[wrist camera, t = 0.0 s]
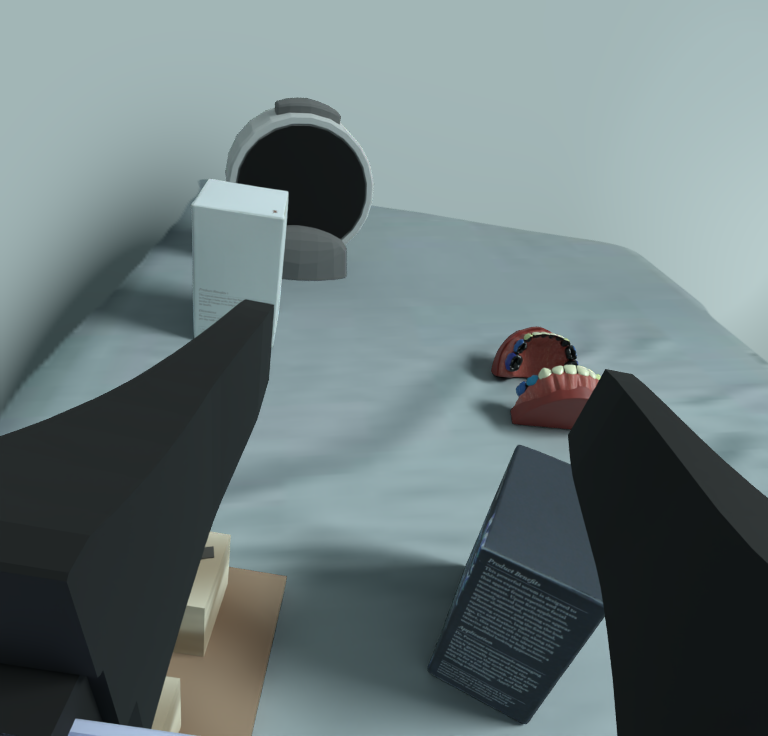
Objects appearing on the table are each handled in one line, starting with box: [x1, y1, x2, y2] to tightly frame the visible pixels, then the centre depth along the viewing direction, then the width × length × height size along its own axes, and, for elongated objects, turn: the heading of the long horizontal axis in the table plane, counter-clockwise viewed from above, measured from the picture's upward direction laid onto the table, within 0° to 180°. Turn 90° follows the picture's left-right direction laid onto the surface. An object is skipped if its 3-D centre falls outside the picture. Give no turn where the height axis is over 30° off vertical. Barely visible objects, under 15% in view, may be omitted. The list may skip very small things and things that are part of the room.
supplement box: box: [191, 179, 288, 347], centre depth 50 cm, size 7×7×13 cm
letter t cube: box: [173, 532, 231, 657], centre depth 27 cm, size 4×4×4 cm
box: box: [428, 445, 605, 724], centre depth 28 cm, size 8×6×11 cm
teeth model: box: [491, 327, 601, 430], centre depth 51 cm, size 8×6×12 cm
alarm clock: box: [225, 98, 374, 281], centre depth 62 cm, size 16×10×18 cm, turn 105°
